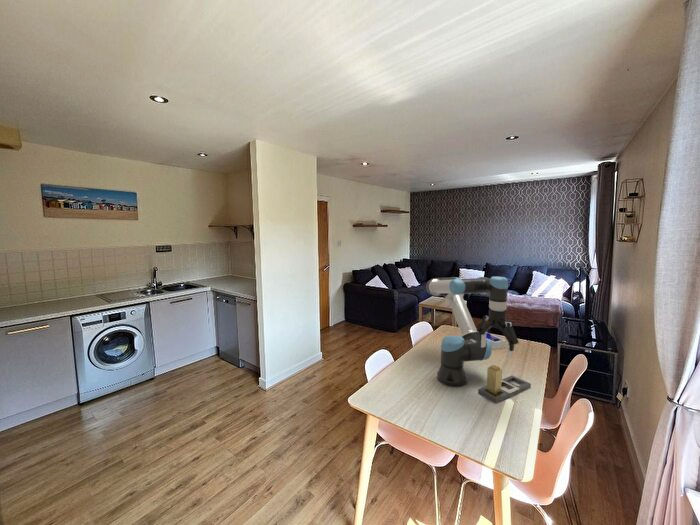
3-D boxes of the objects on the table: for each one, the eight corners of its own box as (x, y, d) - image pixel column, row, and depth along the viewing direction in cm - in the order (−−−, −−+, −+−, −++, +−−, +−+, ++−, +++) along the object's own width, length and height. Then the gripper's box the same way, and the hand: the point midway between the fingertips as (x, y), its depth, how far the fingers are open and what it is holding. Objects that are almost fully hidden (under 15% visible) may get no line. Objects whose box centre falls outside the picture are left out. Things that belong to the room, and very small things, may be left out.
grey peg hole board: (496, 403, 137) (496, 399, 137) (478, 393, 146) (478, 389, 146) (530, 387, 151) (530, 383, 151) (511, 378, 160) (512, 374, 159)
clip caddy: (494, 349, 198) (494, 342, 198) (474, 340, 215) (475, 333, 215) (505, 347, 201) (505, 340, 201) (485, 338, 218) (485, 331, 218)
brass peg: (494, 398, 141) (496, 369, 139) (486, 394, 145) (487, 366, 143) (500, 396, 143) (502, 367, 142) (492, 391, 147) (493, 363, 146)
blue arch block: (483, 341, 214) (483, 333, 213) (488, 340, 214) (489, 333, 213) (492, 347, 202) (493, 339, 201) (498, 347, 202) (499, 339, 201)
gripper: (528, 314, 130) (526, 359, 133) (480, 302, 152) (478, 341, 154) (518, 316, 127) (516, 363, 129) (470, 304, 148) (468, 344, 151)
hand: (495, 351), depth 142 cm, fingers open, 13 cm apart
